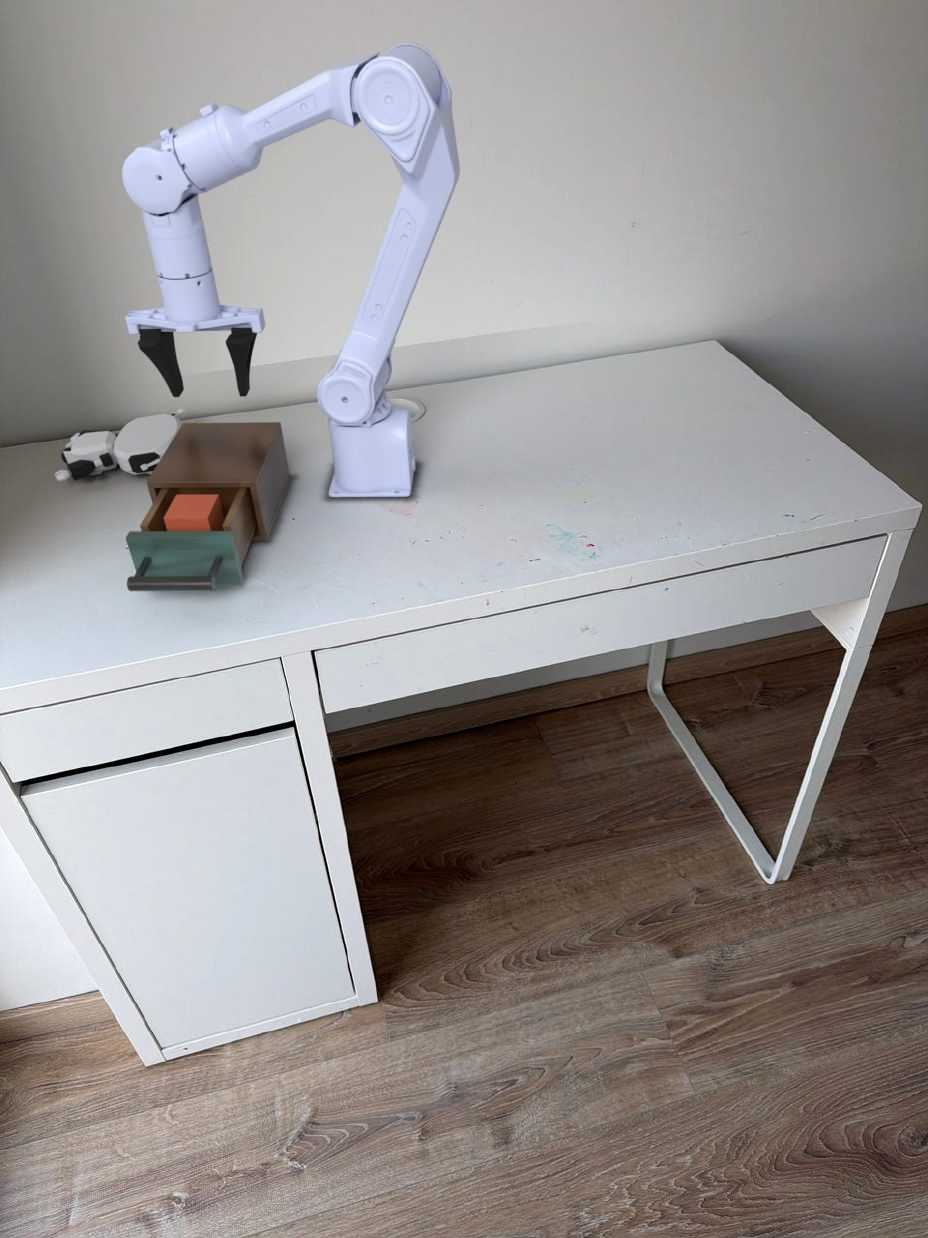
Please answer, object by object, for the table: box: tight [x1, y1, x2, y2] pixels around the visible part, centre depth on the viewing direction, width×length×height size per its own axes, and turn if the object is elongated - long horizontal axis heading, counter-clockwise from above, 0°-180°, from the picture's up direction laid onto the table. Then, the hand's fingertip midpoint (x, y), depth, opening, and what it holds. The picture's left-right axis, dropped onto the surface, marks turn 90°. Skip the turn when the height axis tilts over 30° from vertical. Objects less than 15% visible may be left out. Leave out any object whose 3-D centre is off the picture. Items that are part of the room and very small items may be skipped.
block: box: [164, 494, 225, 531], centre depth 90 cm, size 4×4×5 cm
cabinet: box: [146, 421, 291, 542], centre depth 98 cm, size 13×11×7 cm
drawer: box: [125, 487, 258, 592], centre depth 89 cm, size 17×10×6 cm, turn 178°
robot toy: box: [54, 408, 185, 482], centre depth 108 cm, size 12×4×15 cm
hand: (211, 393), depth 100 cm, fingers open, 7 cm apart
